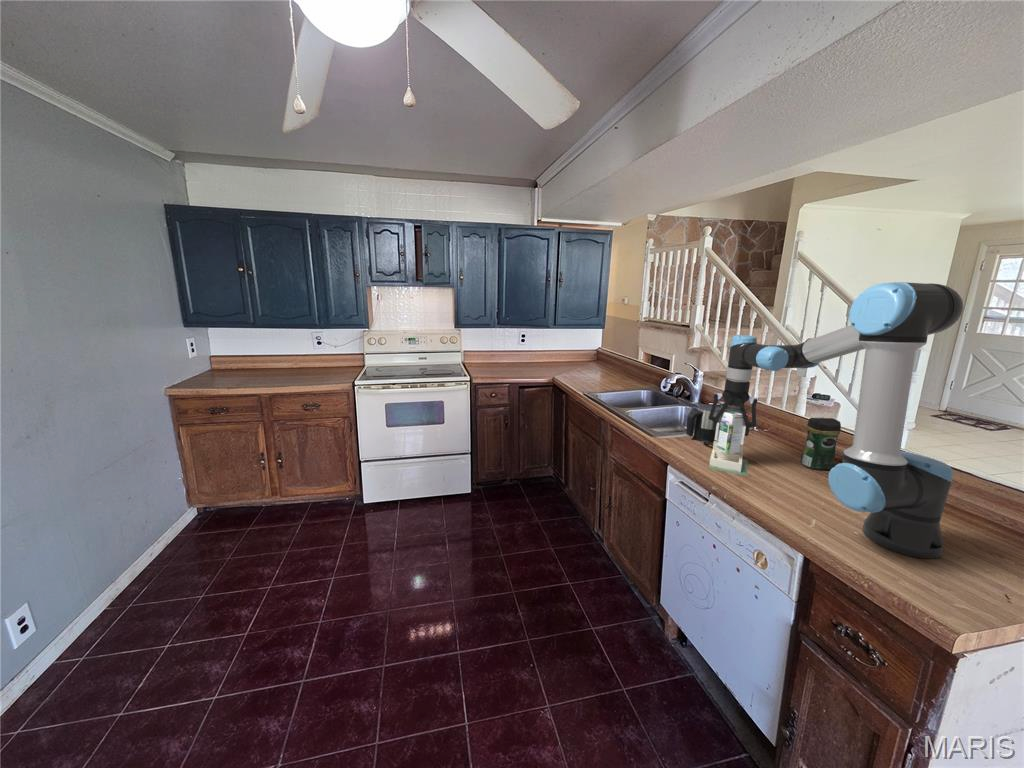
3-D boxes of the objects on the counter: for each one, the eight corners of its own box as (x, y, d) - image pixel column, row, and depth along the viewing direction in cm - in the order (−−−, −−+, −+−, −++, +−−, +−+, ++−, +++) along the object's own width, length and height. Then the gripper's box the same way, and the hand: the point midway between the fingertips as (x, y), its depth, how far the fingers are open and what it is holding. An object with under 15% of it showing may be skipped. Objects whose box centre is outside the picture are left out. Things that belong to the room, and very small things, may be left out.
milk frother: (701, 435, 182) (705, 403, 179) (736, 446, 169) (741, 412, 166) (681, 440, 175) (685, 407, 172) (715, 453, 162) (720, 417, 159)
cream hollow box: (740, 472, 143) (743, 456, 142) (709, 466, 148) (711, 450, 147) (741, 461, 153) (743, 446, 152) (711, 455, 158) (713, 440, 156)
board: (746, 477, 141) (747, 476, 141) (708, 469, 147) (708, 468, 146) (747, 461, 154) (747, 460, 154) (712, 454, 160) (712, 453, 160)
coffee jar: (821, 462, 155) (831, 415, 151) (837, 471, 147) (847, 422, 143) (795, 461, 155) (804, 414, 151) (809, 470, 148) (819, 421, 143)
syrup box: (714, 448, 151) (720, 410, 147) (727, 447, 152) (733, 409, 149) (727, 454, 145) (732, 415, 142) (740, 453, 147) (746, 414, 144)
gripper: (772, 381, 141) (761, 443, 146) (706, 374, 151) (699, 433, 156) (772, 385, 135) (761, 450, 140) (704, 378, 145) (696, 438, 150)
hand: (728, 441), depth 148 cm, fingers closed on syrup box, 8 cm apart
